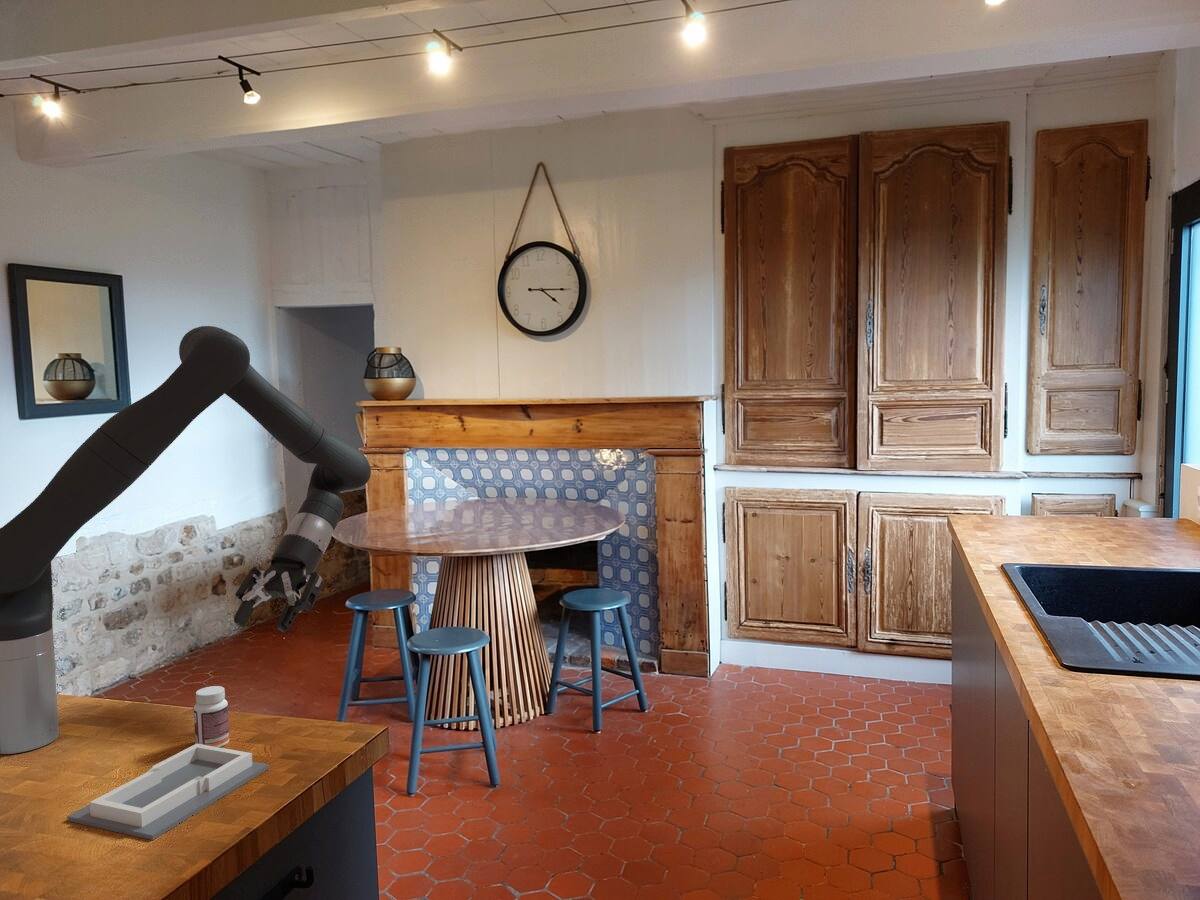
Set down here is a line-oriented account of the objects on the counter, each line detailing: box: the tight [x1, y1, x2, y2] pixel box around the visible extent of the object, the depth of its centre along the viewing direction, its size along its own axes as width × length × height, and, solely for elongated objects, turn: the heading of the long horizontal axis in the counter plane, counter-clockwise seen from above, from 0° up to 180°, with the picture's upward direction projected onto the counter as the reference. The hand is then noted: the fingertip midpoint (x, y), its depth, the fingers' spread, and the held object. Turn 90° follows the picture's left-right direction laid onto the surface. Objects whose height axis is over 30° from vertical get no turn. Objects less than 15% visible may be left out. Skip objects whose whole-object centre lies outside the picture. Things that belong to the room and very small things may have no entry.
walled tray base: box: [66, 744, 270, 841], centre depth 114 cm, size 14×20×2 cm
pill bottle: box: [193, 685, 230, 748], centre depth 129 cm, size 5×5×8 cm
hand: (259, 627), depth 139 cm, fingers open, 8 cm apart
